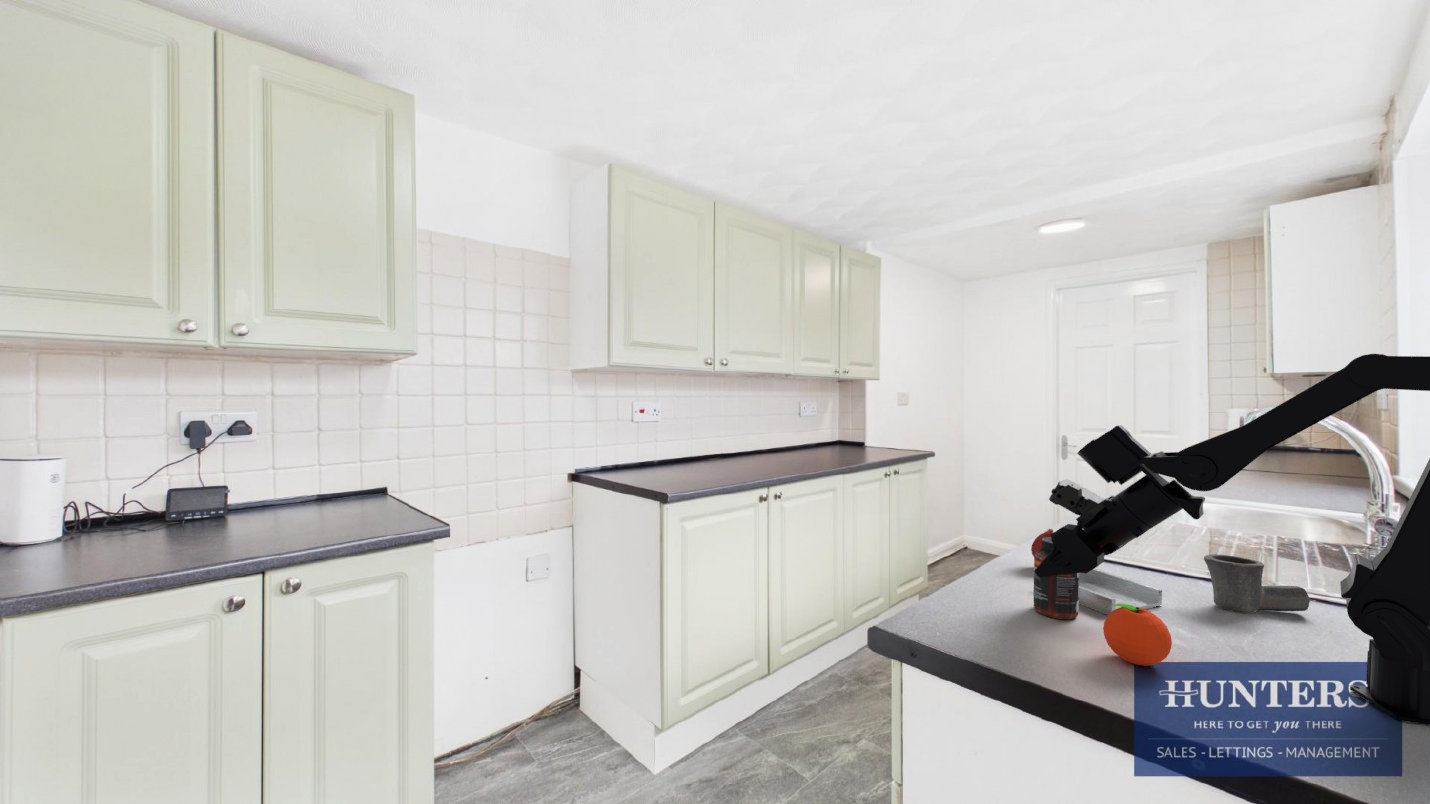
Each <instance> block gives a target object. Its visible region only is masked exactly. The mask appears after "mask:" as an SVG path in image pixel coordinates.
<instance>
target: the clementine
mask: <svg viewBox="0 0 1430 804" xmlns="http://www.w3.org/2000/svg"><path fill="white" fill-rule="evenodd" d="M1113 605H1116V606H1121V608H1118V609H1115V610H1113V611H1112V612H1111V613H1110V614H1109V615H1107V617H1106V618H1105V619H1104V621H1103V627H1102V630H1103V636H1104V638H1105V639H1104V640H1105V641H1106V644H1107V645H1108V647H1109V648H1110V649H1111V650H1112V651H1113V653H1114V654H1115V655H1117V656H1118V657H1119V658H1120V659H1122V660H1124V661H1126V662H1128V663H1131V664H1133V665H1138V666H1145V667H1147V666H1153V665H1156V664H1159V663H1161V662H1162V661H1164V660H1165V659H1167V657H1168V656H1169V654H1170V653H1171V649H1172V644H1173V641H1172V635H1171V632H1170V630H1169V628H1168V626H1167V624H1165V623H1164V621H1163V620H1162V618H1160V617H1158V616H1157V615H1156V614H1155V613H1153V612H1151V611H1149V609H1143V608H1139V607H1135V606H1132V605H1127V604H1113ZM1108 606H1111V605H1108ZM1108 606H1106V607H1108ZM1106 607H1104V608H1106ZM1104 608H1103V609H1102V611H1103V610H1104ZM1102 611H1101V612H1102ZM1101 612H1099V615H1101V614H1102V613H1101Z"/></svg>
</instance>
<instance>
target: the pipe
mask: <svg viewBox="0 0 1430 804" xmlns="http://www.w3.org/2000/svg"><path fill="white" fill-rule="evenodd" d="M1203 560H1204V563H1205V564H1206V566H1207V569H1208V572H1209V574H1210V578H1211V579H1210V580H1211V584H1212V591H1213V602H1214V603H1213V604H1215V605H1216V606H1217V608H1221V609H1222V608H1223V610H1225V611H1231V612H1235V613H1236V612H1237V613H1242V614H1243V613H1248V614H1249V613H1255V612H1257V611H1262V612H1263V611H1268V612H1269V611H1270V612H1272V611H1273V612H1305V611H1307V610H1308V609H1309V607H1310V600H1311V599H1310V596H1309V594H1308V592H1307V591H1306V589H1305V588H1303V587H1300V586H1297V585H1263V584H1262V583H1263V581H1262V579H1263V572H1264V568H1265V564H1264V562H1261V561H1259V560H1255V559H1251V558H1247V557H1246V558H1245V557H1241V556H1236V555H1228V554H1219V553H1218V554H1216V553H1215V554H1213V553H1212V554H1206V555H1203Z"/></svg>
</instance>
